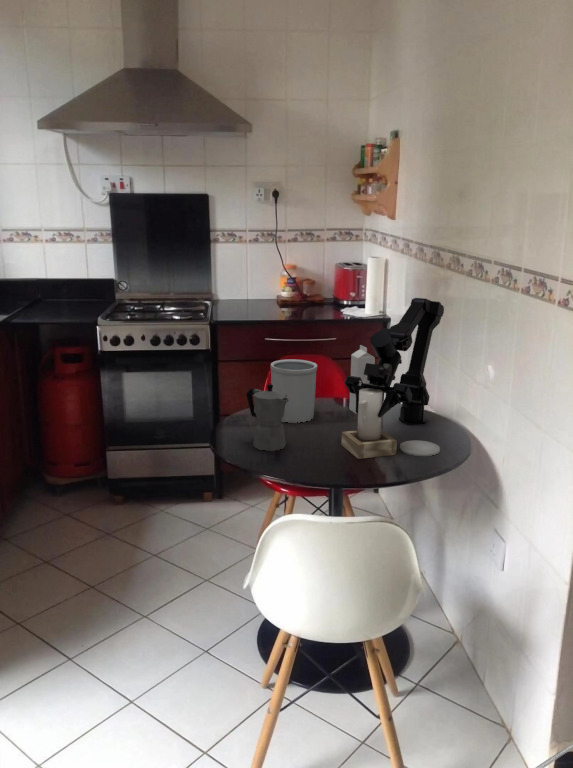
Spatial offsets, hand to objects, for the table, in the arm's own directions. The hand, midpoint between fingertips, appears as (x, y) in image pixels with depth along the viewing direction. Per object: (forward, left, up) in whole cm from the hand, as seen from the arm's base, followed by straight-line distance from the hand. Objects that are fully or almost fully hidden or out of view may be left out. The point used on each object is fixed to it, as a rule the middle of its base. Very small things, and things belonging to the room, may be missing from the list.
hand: (367, 414), depth 184 cm
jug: (0, 0, -7) cm, 7 cm away
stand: (-1, -1, -11) cm, 11 cm away
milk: (-15, -36, -11) cm, 40 cm away
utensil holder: (+9, -36, -11) cm, 39 cm away
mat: (-15, +3, -11) cm, 19 cm away
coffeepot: (+25, -13, -11) cm, 30 cm away
